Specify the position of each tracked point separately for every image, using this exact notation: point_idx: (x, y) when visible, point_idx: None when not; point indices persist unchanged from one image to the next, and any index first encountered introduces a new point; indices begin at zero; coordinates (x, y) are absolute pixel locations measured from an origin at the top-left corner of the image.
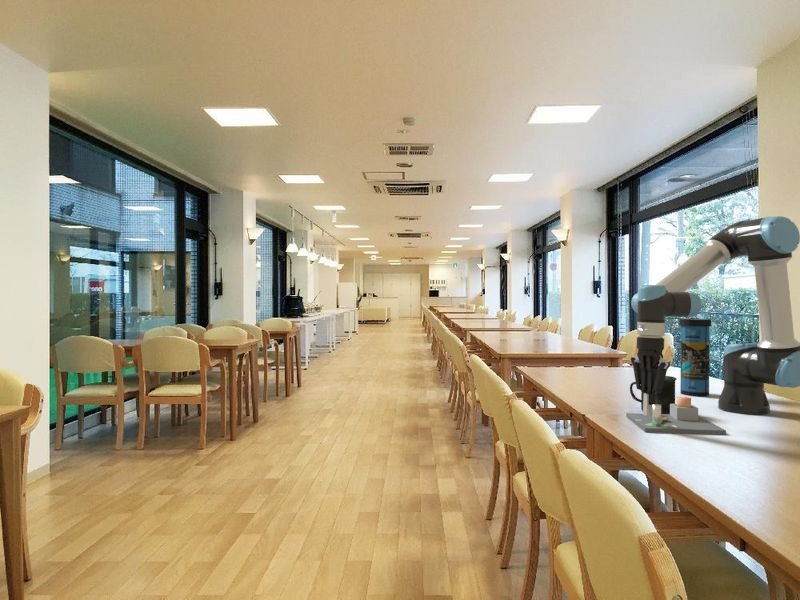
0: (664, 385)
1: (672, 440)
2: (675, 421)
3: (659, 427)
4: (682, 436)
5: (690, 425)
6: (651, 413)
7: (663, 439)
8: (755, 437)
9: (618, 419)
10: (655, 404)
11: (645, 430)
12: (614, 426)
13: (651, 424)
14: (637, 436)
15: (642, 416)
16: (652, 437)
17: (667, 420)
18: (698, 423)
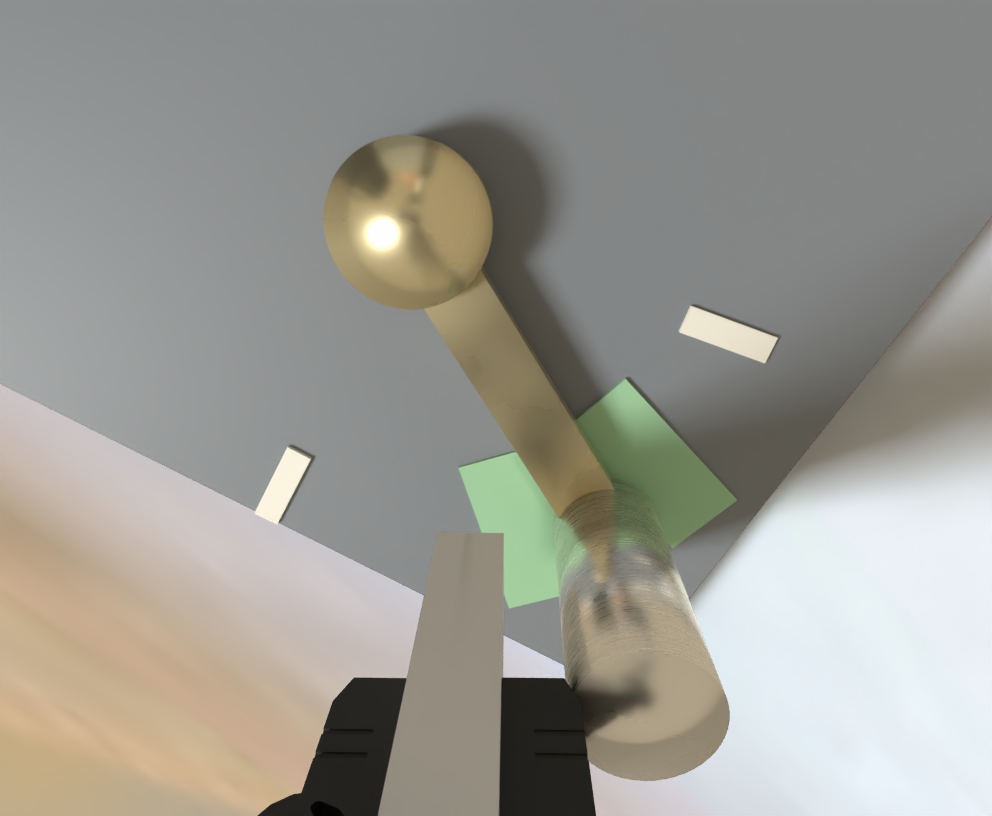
0: None
1: (958, 665)
2: (516, 51)
3: (671, 544)
4: (928, 459)
5: (804, 58)
6: (503, 579)
7: (885, 706)
8: None
9: (29, 491)
10: (619, 720)
11: None
12: (306, 735)
13: (531, 526)
14: (687, 811)
15: (99, 263)
16: (781, 734)
17: (491, 203)
18: None
